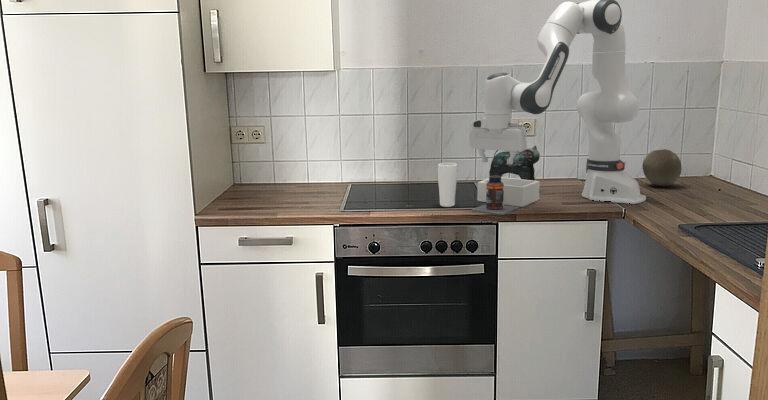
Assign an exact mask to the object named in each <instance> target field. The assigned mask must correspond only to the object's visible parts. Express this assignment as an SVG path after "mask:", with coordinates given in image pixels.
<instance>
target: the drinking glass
mask: <svg viewBox="0 0 768 400" xmlns="http://www.w3.org/2000/svg"><path fill="white" fill-rule="evenodd" d="M457 180H458V164H457V163H454V162H442V163H438V165H437V183H438V192H439V205H440V206H441V207H443V208H451V207H454V206H455V204H456V190H457V182H458V181H457Z"/></svg>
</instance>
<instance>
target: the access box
mask: <svg viewBox="0 0 768 400" xmlns="http://www.w3.org/2000/svg"><path fill="white" fill-rule="evenodd" d="M488 182H489V178H487V179H483V180H481V181H478V182H477V198H476V199H477V201H478V202H485V203H486V185H487V183H488ZM501 182H502V183H503V184H504V201H503V205H505V206H512V207H519V208H520V207H521V208H523V207H527V206H528V205H531V204H533V203H535V202H538V201H539V200H540V188H541V187H540V185H541V181H540V180H535V181H533V180H523V179H521V178H513V177H503V176H502V177H501Z"/></svg>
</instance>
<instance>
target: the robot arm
mask: <svg viewBox="0 0 768 400" xmlns="http://www.w3.org/2000/svg"><path fill="white" fill-rule="evenodd" d="M622 16H623V15H622V8H621V6H620V4H619V2H618V1H617V0H586V1H583V2H577V3H576V2H573V1H564V2H561V3H560V4H559V5H558V6H557V7H556V8H555V9H554V11H553V12H552V13H551V14H550V16H549V17H548V19H547V20H546V22H545V23H544V24H543V26H542V28H541V29H540V31H539V33H538V36H537V39H536V43H537V47H538V49H539V50H540V52H541V53H542V54H543V55H544V56H545V57H546V60H545V63H544V64H543V67H542V70H540V73H539V75H538V77H537V78H536V79H535V80H534V81H532V82H524V81H523V82H521V81H520V80H517V79H516V78H514V77H512V76H511V75H510V74H509V73H507V72H499V73H493V74H490V75H489V76H488V77H487V78H486V79H485V85H484V92H483V93H484V95H483V97H484V98H483V99H484V104H485V106H484V107H485V108H484V113H483V114H484V115H483V117H482V118H479V119H476V120H472V121H471V122H470V127H471V129H470V131H469V134H468V135H469V136H468V146H469V148H470V149H472V150H474V149H475V150H478V153H479V155H480V157H481V163H488V162H489V157H488V156H486V153H485V152H486V150H488V151H489V150H490V151H497V150H499V151H500V152H503V151H510V154H511V156H510V158H509V159H507V164H513V158H514V157H515V155H516V152H522V151H524V150H525V149H526V148H527V144H528V143H527V127H526V126H525V125H524V124H523V123H520V122H518V123H515V122H511V121H512V111H516V112H517V111H518V112H522V113H528V114H532V115H539V114H542V113H544V112H546V110H547V109H548V108H549V107H550V105H551V103H552V102H551V101H552V99H553V96H554V95H553V93H554V90H555V88H556V85H557V83H558V81H559V79H560V77H561V75H562V72H563V70H564V68H565V66H566V63H567V61H568V59H569V55H570V48H571V47H570V46H571V44H572V42H573V41H574V39H575V38H576V36H577V34H590V35H592V38H593V43H592V61H591V62H592V64H591V67H592V68H591V73H592V76H593V78H594V79H595V80H596V81H597V83H598V84H599V87H600V90H593V91H589V92H585V93H583V94H582V95H580V97H578V100H577V103H576V110H577V113H578V115H579V116H580V117H581V118H582V120H583V121H584V125H585V128H586V131H587V135H588V151H587V152H588V154H587V156H588V157H587V159H586V163H585V165H586V166H585V172H586V176H585V177H586V178H585V182H584V187H583V189H582V193H581V197H583V198H585V199H588V200H590V201H592V200H594V202H604V201H611V202H610V203H618V204H620V203H621V204H629V203H630V204H632V205H635V204H641V203H643V202H645V201H646V200H647V197H646V196H647V195H644V194H641V187H640V184H639V181H637V180H636V179H635V177H633V176H632V175H631V174H629V172H627V171H626V170H625V168H626V167H625V166H626V163H627V162H626V161H623V160H622V159H620V157H621V147H622V146H621V144H622V140H621V137H620V135H619V134H618V133H617V132H616V131H615V129H614V125H613V123H616V124H621V123H628V122H631V121H633V120H634V119H636V117H637V116H638V113H639V112H640V102H639V99H638V98H637V97H636V96H635V95H634V94H633V92H632V91H631V89H630V86H629V84H628V80H627V77H626V76H627V75H626V33H625V28H624V25H623V23H622ZM599 200H600V201H599ZM630 204H629V205H630Z"/></svg>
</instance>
